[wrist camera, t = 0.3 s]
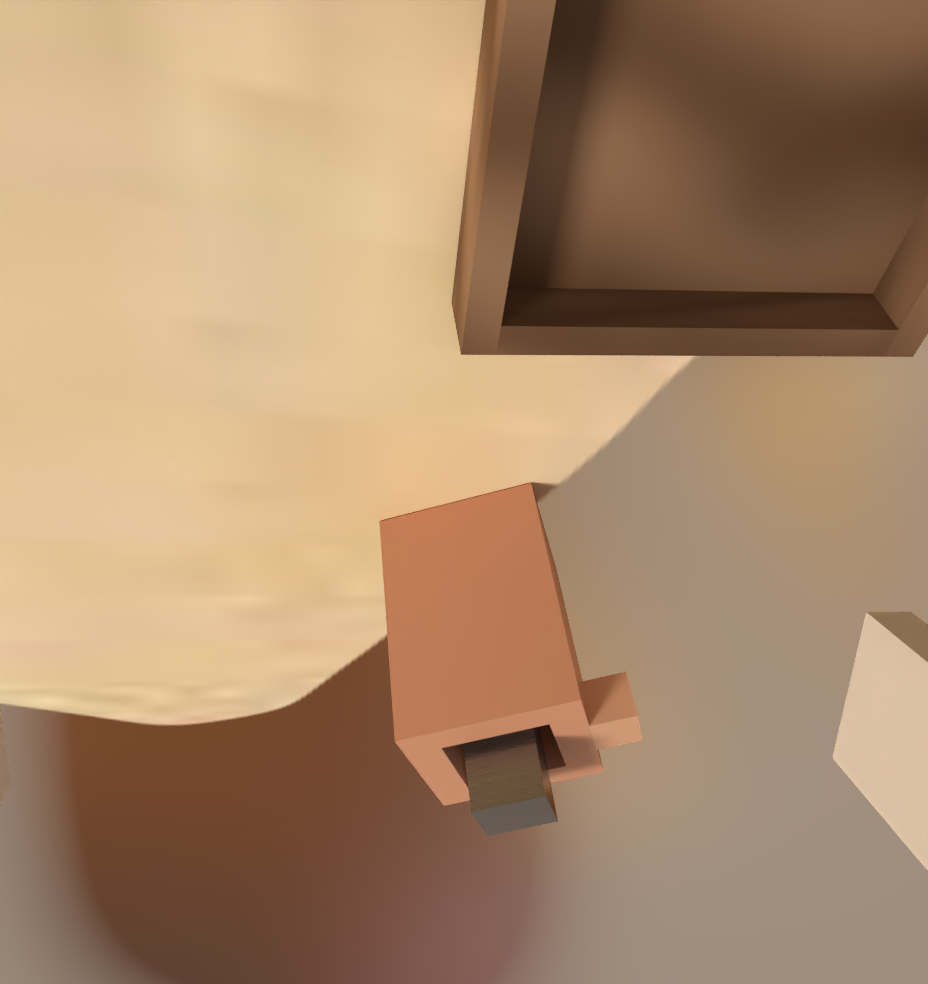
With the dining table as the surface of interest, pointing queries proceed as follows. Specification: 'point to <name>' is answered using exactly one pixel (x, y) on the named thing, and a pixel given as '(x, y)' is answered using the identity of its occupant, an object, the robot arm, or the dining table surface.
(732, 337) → the tray
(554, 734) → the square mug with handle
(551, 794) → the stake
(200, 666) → the dining table surface
